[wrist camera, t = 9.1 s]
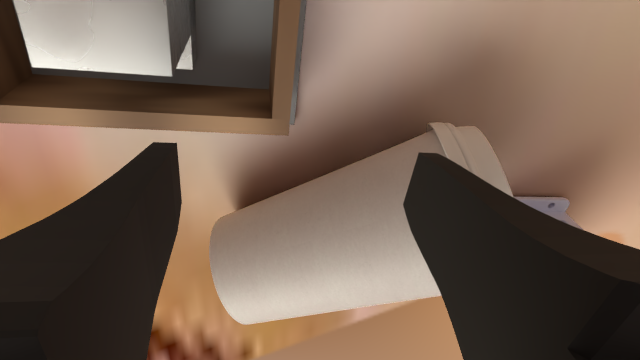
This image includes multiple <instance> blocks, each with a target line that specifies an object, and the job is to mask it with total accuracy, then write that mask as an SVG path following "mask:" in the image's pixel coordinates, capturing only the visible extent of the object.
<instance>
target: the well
mask: <svg viewBox="0 0 640 360" xmlns="http://www.w3.org/2000/svg"><path fill="white" fill-rule="evenodd" d="M300 4H301V0H274V9H273V27H272V44H271V61H270V79H269V89H254V88H239V87H224V86H208V85H193V84H178V83H162V82H147V81H132V80H116V79H101V78H86V77H71V76H55V75H40V74H32V71H31V67H30V63H29V60H28V56H27V53H26V49H25V46H24V42H23V38H22V35H21V31H20V28H19V24H18V21H17V17H16V13H15V10H14V6H13V3H12V0H0V123H14V124H37V125H60V126H83V127H106V128H128V129H151V130H174V131H197V132H220V133H243V134H266V135H288V134H289V123H290V112H291V101H292V90H293V80H294V69H295V58H296V47H297V36H298V25H299V15H300Z"/></svg>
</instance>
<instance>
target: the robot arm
mask: <svg viewBox="0 0 640 360" xmlns="http://www.w3.org/2000/svg"><path fill="white" fill-rule="evenodd" d="M181 203H182V200H181V188H180V176H179V164H178V152H177V143H159V142H153V143H152V144H151V145H149V146H148V147H147V148H146V149H145V150H143V151H142V152H141V153H140V154H139V155H137V156H136V157H135V158H134V159H133V160H131V161H130V162H129V163H128V164H126V165H125V166H124V167H123V168H121V169H120V170H119V171H118V172H116V173H115V174H114V175H113V176H111V177H110V178H108V179H107V180H106V181H104V182H103V183H101V184H100V185H99V186H97V187H96V188H94V189H93V190H91V191H90V192H89V193H87V194H86V195H84V196H83V197H81V198H80V199H78V200H76V201H75V202H73V203H71V204H70V205H68V206H66V207H65V208H63V209H61V210H59V211H58V212H56V213H54V214H52V215H50V216H49V217H47V218H45V219H43V220H41V221H39V222H37V223H34V224H32V225H30V226H28V227H26V228H24V229H22V230H20V231H18V232H16V233H13V234H11V235H9V236H7V237H5V238H3V239H0V360H146V359H147V353H148V346H149V341H150V335H151V329H152V324H153V318H154V313H155V308H156V304H157V300H158V296H159V293H160V289H161V286H162V283H163V279H164V276H165V272H166V269H167V266H168V262H169V259H170V255H171V252H172V249H173V245H174V242H175V238H176V235H177V231H178V224H179V218H180V210H181ZM569 204H570V201H569V200H567V199H566V198H564V197H512V196H510V195H508V194H506V193H505V192H503V191H501V190H499V189H498V188H496V187H494V186H493V185H491V184H489V183H488V182H486V181H484V180H483V179H481V178H480V177H478V176H476V175H475V174H473V173H471V172H470V171H468V170H467V169H465V168H463V167H462V166H460V165H458V164H457V163H455V162H453V161H452V160H450V159H448V158H446V157H444V156H442V155H440V154H438V153H422V152H419V153H418V156H417V160H416V163H415V166H414V170H413V173H412V176H411V180H410V183H409V186H408V189H407V193H406V196H405V199H404V203H403V207H404V210H405V214H406V217H407V221H408V224H409V227H410V230H411V232H412V234H413V237H414V239H415V241H416V243H417V245H418V247H419V249H420V251H421V254H422V256H423V258H424V260H425V262H426V264H427V266H428V268H429V270H430V272H431V274H432V276H433V278H434V280H435V282H436V284H437V286H438V288H439V291H440V293H441V295H442V298H443V300H444V302H445V305H446V308H447V311H448V314H449V317H450V319H451V322H452V325H453V328H454V331H455V334H456V337H457V340H458V343H459V347H460V350H461V353H462V356H463V359H464V360H640V250H639V249H636V248H633V247H630V246H627V245H623V244H620V243H617V242H614V241H611V240H608V239H605V238H603V237H600V236H597V235H595V234H592V233H589V232H587V231H584V230H583V229H582V228H581V227H580V226H579V225H578V224H577V223H576V222H575V221H574V220H573V219H572V218H571V217H570V216H569V215H568V214H567V213H566V212H565V211H566V210H567V208H568V206H569Z"/></svg>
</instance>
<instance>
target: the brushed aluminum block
mask: <svg viewBox="0 0 640 360" xmlns="http://www.w3.org/2000/svg"><path fill="white" fill-rule="evenodd" d="M13 1H14V4H15V8H16V11H17V15H18V18H19V22H20V26H21V29H22V33H23V36H24V40H25V44H26V47H27V51H28V54H29V58H30V62H31V65H32V67H39V68H54V69H69V70H83V71H98V72H112V73H127V74H142V75H156V76H171V77H172V76H173V74H174V71H175V69H190V70H193V67H194V64H195V61H196V58H197V35H196V13H195V0H13Z"/></svg>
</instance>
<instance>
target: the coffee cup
mask: <svg viewBox="0 0 640 360" xmlns="http://www.w3.org/2000/svg"><path fill="white" fill-rule="evenodd" d="M419 152H422V153H438V154H440V155H442V156H444V157H446V158H448V159H450V160H452V161H453V162H455V163H457V164H458V165H460V166H462V167H463V168H465V169H467V170H468V171H470V172H471V173H473V174H475V175H476V176H478V177H480V178H481V179H483V180H484V181H486V182H488V183H489V184H491V185H493V186H494V187H496V188H498V189H499V190H501V191H503V192H505V193H506V194H508V195H510V196H512V197H513V194H512V191H511V188H510V186H509V183H508V180H507V178H506V176H505V173H504V171H503V168H502V166H501V164H500V162H499V160H498V158H497V156H496V154H495V152H494V150H493V148H492V146H491V145H490V143H489V141H488V140H487V138H486V137H485V136H484V134H483V133H482V132H481V131H480V130H479V129H478V128H477V127H475V126H459V127H455V126H454V125H453V124H451V123H442V122H435V123H428V124H427V132H426V133H424V134H422V135H419V136H417V137H415V138H412V139H410V140H408V141H405V142H403V143H401V144H398V145H396V146H394V147H391V148H389V149H386V150H384V151H382V152H379V153H377V154H374V155H372V156H369V157H367V158H365V159H362V160H360V161H357V162H355V163H353V164H350V165H348V166H345V167H343V168H340V169H338V170H336V171H333V172H331V173H328V174H326V175H323V176H321V177H318V178H316V179H314V180H311V181H309V182H306V183H304V184H301V185H299V186H296V187H294V188H292V189H289V190H287V191H284V192H282V193H279V194H277V195H274V196H272V197H269V198H267V199H265V200H262V201H260V202H257V203H255V204H252V205H250V206H247V207H245V208H243V209H240V210H238V211H235V212H233V213H230V214H228V215H225V216H223V217H221V218H220V219H218V220H217V222H216V223H215V225H214V227H213V229H212V233H211V237H210V246H209V256H210V266H211V272H212V277H213V281H214V284H215V287H216V290H217V293H218V295H219V298H220V300H221V302H222V304H223V306H224V307H225V309H226V310H227V312H228V313H229V314H230V316H231V317H232V318H233V319H235V320H236V321H237V322H239V323H241V324H254V323H261V322H267V321H274V320H281V319H287V318H294V317H300V316H307V315H314V314H320V313H327V312H334V311H340V310H347V309H354V308H360V307H367V306H374V305H381V304H387V303H394V302H401V301H408V300H415V299H422V298H429V297H435V296H442V295H441V293H440V291H439V288H438V286H437V284H436V282H435V280H434V278H433V276H432V274H431V272H430V270H429V268H428V266H427V264H426V262H425V260H424V258H423V256H422V254H421V251H420V249H419V247H418V245H417V243H416V241H415V239H414V237H413V234H412V232H411V230H410V227H409V224H408V221H407V217H406V214H405V210H404V207H403V203H404V199H405V196H406V193H407V189H408V186H409V183H410V180H411V176H412V173H413V170H414V166H415V163H416V160H417V156H418V153H419Z"/></svg>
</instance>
